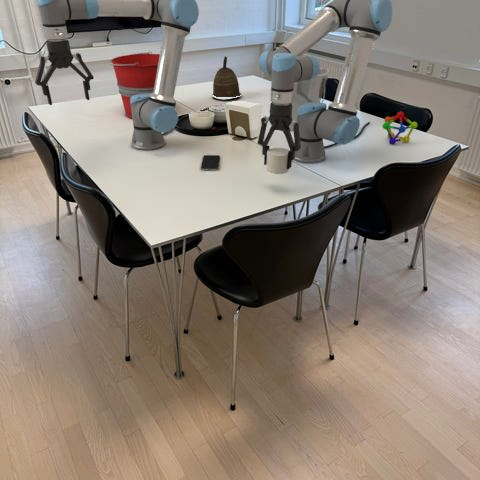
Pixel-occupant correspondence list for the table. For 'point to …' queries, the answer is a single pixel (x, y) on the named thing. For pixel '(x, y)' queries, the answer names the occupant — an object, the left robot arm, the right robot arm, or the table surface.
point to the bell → (225, 82)
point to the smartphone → (210, 162)
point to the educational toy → (398, 128)
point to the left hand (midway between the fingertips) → (69, 101)
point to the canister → (277, 160)
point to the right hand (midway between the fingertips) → (277, 165)
